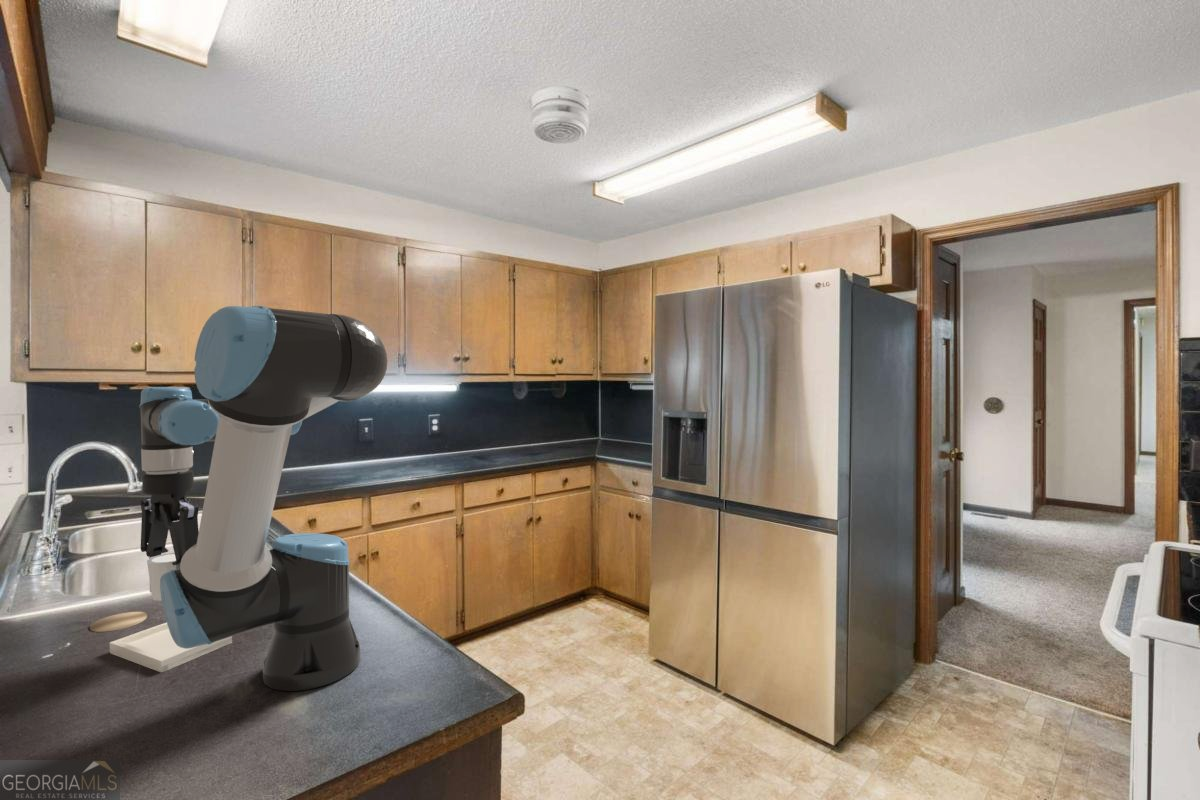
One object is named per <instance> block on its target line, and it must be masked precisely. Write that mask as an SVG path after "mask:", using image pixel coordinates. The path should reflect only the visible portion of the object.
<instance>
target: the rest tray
mask: <svg viewBox="0 0 1200 800" xmlns="http://www.w3.org/2000/svg"><path fill="white" fill-rule="evenodd" d="M230 644H233V636H232V637H228V638H225V639H222V640H219V641H216V642H213V643H211V644H205V645H201V646H197V647H193V648H189V649H185V648H181V647H179V646H177V645H176V643H175V642H174V640H173V638H172V636H171V634H170V631H169V628H168V625H167V622H166V621H165V622H163V623H161V624H157V625H155V626H152V627H149V628H147V629H144V630H141V631H138V632H136V633H132V634H130V635H127V636H125V637H124V636H123V637H121V638H118V639H116V640H113V641H110V642H109V653H110V655H114V656H116V657H119V658H122V659H124V660H126V661H129V662H131V663H132V662H133V663H135V664H138V665H140V666H142V667H145V668H148V669H150V670H154V671H156V672H158V673H161V674H163V673H164V672H167V671H170V670H171V669H174V668H176V667H178V666H181V665H183V664H185V663H188V662H190V661H193V660H195V659H197V658H200V657H202V656H204V655H207V654H209V653H211V652H214V651H216V650H219V649H221V648H224V647H225V646H228V645H230Z"/></svg>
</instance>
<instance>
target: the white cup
mask: <svg viewBox="0 0 1200 800" xmlns="http://www.w3.org/2000/svg"><path fill="white" fill-rule="evenodd" d="M163 554H164V555H162V554H161V555H160V556H156V557H153V558H151V559H149V558H148V559H147V560H146V562H147V570H148V572H147V573H148V577H149V579H150V581H149V587H150V586H151V592H150V593H151V599H152V600H154V601H161V602H162V600H161V592H160V579H161V577H162V575H163V574H165V573H167V572H170V571H171V570H173V564H172V562H175V561H176V557H175V553H174V552H171V553H163Z"/></svg>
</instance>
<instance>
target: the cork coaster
mask: <svg viewBox="0 0 1200 800" xmlns="http://www.w3.org/2000/svg"><path fill="white" fill-rule="evenodd" d="M147 618H148V614H147V613H146V612H145V611H130V612H128V611H127V612H122V613H117V614H113V615H109V616H105V617H103V618H100V619H98V620H96V621H94V622H92V623H91V624H90V625H89V630H90V631H91V632H96V633H106V632H112V631H114V632H115V631H119V630H120V631H121V630H124V629H126V628H127V629H128V628H131V627H134V626H135V625H139V624H141V623H142V622H144V621H146V619H147Z"/></svg>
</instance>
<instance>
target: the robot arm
mask: <svg viewBox="0 0 1200 800" xmlns="http://www.w3.org/2000/svg"><path fill="white" fill-rule="evenodd" d="M194 362H195V366H194V381H195V385H196V387H197V390H198V392H199V394H200V395H201V396H202V397H204V399H203V398H201V399H199V398H197V399H196V398H195V399H193V393H192V390H191V389H190V388H189V387H185V386H151V387H145V388H143V389H142V390H141V392H140V404H139V407H138V408H139V409H140V428H141V429H140V433H141V436H140V437H141V449H140V451H141V452H140V453H141V454H140V455H141V458H140V459H141V470H142V471H143V472H144V473H143V474H142V475H141V482H142V484H141V485H142V488H141V489H142V493H143V494H145V495H149V496H150V498H148V499H142V500H141V501H140V509H141V528H140V552H142V553H144V552H145V554H146V556H147V557H148V560H149V559H151V558H153V557H156V556H160V555H164V554H166V553H168V552H169V549H168V548H166V544H167V540H168V535H170V540H171V545H172V547H173V553H175V557H176V561H175V562H172V564H173V570H171V571H170V572H167V573H165V574H163V575H162V577H161V579H160V592H161V600H162V601H161V604H162V609H163V613H164V618H165V623H166V622H167V625H168V628H169V631H170V634H171V636H172V638H173V640H174V642H175V643H176V645H177V646H179V647H181V648H185V649H189V648H193V647H197V646H201V645H205V644H211V643H213V642H216V641H219V640H222V639H225V638H228V637H232V638H233V637H234V636H237V635H241V634H243V633H248V632H250V631H253V630H256V629H259V628H262V627H266V626H268V625H272V624H273V627H274V631H273V634H272V637H271V640H270V645H269V646H268V651H267V654H266V657H265V659H264V661H263V663H262V664H263V665H262V680H263V684H265V685H266V686H267V687H268V688H270V689H273V690H277V691H282V692H296V691H297V692H299V691H306V690H311V689H315V688H320V687H323V686H327V685H329V684H332V683H334V682H337V681H339V680H341V679H343V678H345V677H346V676H348V675H350V674H351V673H352V672H354V670H356V668H357V667H358V666H359V664H360V662H361V645H360V643H359V640H358V638H357V635H356V632H355V630H354V627H353V624H352V622H351V619H350V564H351V562H350V561H351V560H350V556H349V554H350V553H349V548H348V547H349V546H348V542H346V540H344V539H343V538H342V537H340V536H337V535H332V534H327V533H318V532H317V533H315V532H314V533H313V532H310V533H309V532H304V533H302V532H299V533H290V534H284V535H280V536H279V537H275V538H274V539H273V541H272V544H271V548H272V549H268V547H266V542H267V539H268V534H269V531H270V530H269V529H270V525H271V520H272V517H273V512H274V508H275V503H276V499H277V494H278V491H279V486H280V482H281V481H280V480H281V477H282V473H283V468H284V464H285V459H286V455H287V452H288V447H289V443H290V438H291V436H293V435H296V434H297V433H298V432H299V430H300V429H301V427H302V424H303V421H304V420H305V419H308V418H309V417H311V416H313V415H315V414H317V413H319V412H321V411H323V410H325V409H327V408H329V407H331V406H332V405H334V404H336V403H339V402H353V401H356V400H358V399H360V398H362V397H364V396H367V395H368V394H370V393H372V392H373V391H374V390H375V389H377V388H378V386H380V384H381V383H382V381H383V380H384V379H385V378H384V377H385V376H386V372H387V368H388V354H387V350H386V348H385V345H384V343H383V341H382V339H381V337H379V335H378V334H377V333H376V332H375V331H374V330H373V329H372V328H371V327H370V326H369V325H367V324H365V323H364V322H362V321H361V320H358V319H356V318H355V317H351V316H348V315H345V314H338V313H337V314H334V313H322V312H310V311H301V310H291V309H282V308H281V309H280V308H271V307H267V306H263V305H254V306H253V305H252V306H240V305H239V306H238V305H230V306H229V305H228V306H224V307H222V308H219V309H217V311H216V312H213V313H212V314H211V315H210V316H209V317H208V318H207V320H206V322H205V323H204V325H203V327H202V329H201V332H200V334H199V337H198V339H197V344H196V348H195V353H194ZM205 398H206V399H205ZM205 442H214V444H213V449H212V455H211V460H210V461H211V462H210V465H209V472H208V477H207V482H206V483H207V484H206V490H205V496H204V500H203V507H202V512H201V518H200V524H199V521H198V520H199V519H198V516H199V509H200V508H199V507H200V506H199V505H198V504H190V503H189V501H188V498H187V493H188V492H189V491H192V490H193V489H194V487H195V485H194V484H195V481H194V480H195V477H194V476H195V475H194V474H195V473H194V471H193V470H192V469H191V468H193V466H194V455H195V454H194V453H195V451H194V450H193V449H194V448H193V447H194V446H195V445H201V444H204V443H205ZM193 445H194V446H193ZM149 582H150V579H149ZM149 593H151V586H150V585H149Z"/></svg>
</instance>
